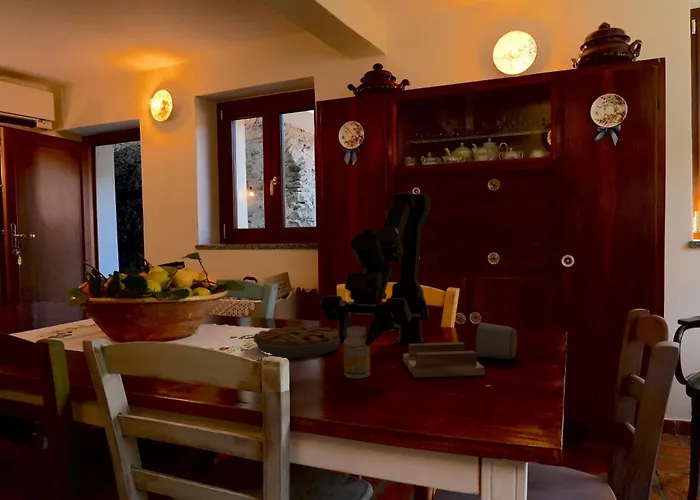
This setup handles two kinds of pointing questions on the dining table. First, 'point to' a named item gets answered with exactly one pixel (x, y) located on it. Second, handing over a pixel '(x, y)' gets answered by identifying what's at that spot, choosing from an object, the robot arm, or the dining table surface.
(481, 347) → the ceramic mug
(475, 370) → the beech cradle
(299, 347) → the pie
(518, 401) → the dining table surface
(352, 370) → the supplement bottle
